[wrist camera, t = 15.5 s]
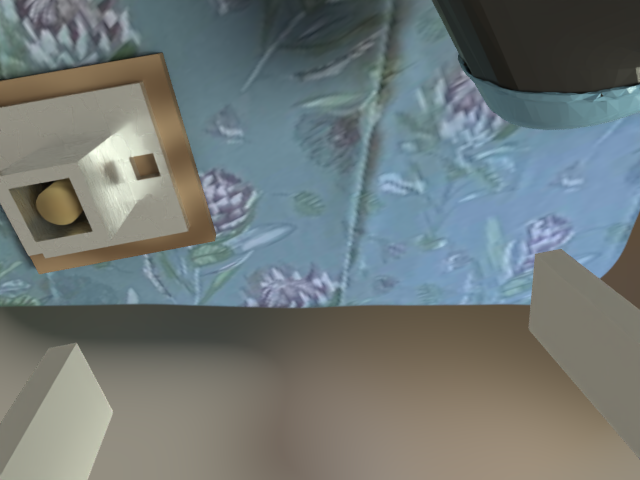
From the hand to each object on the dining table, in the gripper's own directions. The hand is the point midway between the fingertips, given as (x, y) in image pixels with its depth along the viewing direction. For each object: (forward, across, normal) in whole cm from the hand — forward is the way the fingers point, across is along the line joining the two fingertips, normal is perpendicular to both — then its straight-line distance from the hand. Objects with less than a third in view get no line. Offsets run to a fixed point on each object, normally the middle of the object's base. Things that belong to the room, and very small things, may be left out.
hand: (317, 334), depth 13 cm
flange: (+31, +18, +2) cm, 36 cm away
